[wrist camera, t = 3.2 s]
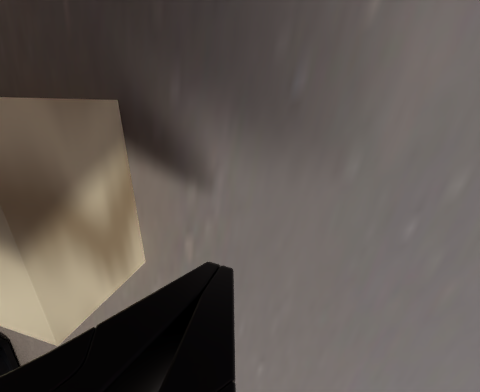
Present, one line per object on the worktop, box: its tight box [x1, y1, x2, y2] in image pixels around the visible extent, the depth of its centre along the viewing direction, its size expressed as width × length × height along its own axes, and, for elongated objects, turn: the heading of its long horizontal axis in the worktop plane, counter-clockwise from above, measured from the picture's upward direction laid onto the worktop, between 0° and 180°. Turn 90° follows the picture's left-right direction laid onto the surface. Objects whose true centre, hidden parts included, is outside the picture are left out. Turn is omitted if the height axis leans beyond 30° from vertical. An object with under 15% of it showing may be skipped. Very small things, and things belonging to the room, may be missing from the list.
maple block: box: [0, 97, 145, 346], centre depth 10 cm, size 8×8×5 cm
